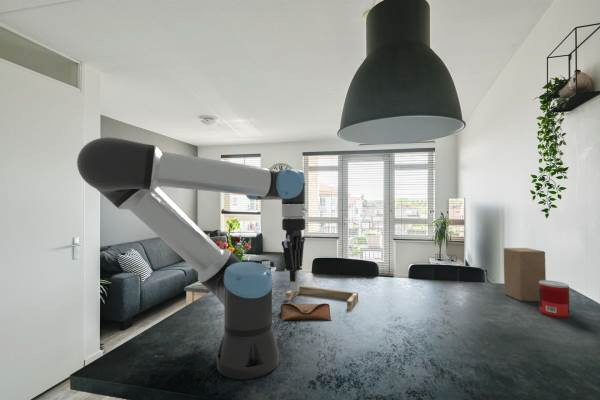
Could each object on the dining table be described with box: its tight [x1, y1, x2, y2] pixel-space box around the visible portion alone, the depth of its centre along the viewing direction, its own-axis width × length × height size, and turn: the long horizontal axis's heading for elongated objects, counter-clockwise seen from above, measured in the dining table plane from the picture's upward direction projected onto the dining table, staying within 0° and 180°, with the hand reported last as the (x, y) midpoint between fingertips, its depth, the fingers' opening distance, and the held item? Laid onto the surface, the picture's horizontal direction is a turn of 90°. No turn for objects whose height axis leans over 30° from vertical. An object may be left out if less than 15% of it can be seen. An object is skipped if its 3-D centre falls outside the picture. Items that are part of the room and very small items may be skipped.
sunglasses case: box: [280, 302, 332, 322], centre depth 100 cm, size 18×7×7 cm
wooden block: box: [503, 247, 547, 302], centre depth 119 cm, size 10×10×20 cm
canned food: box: [538, 279, 571, 319], centre depth 101 cm, size 8×8×11 cm
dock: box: [285, 285, 359, 311], centre depth 117 cm, size 12×27×3 cm, turn 66°
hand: (294, 290), depth 92 cm, fingers closed
